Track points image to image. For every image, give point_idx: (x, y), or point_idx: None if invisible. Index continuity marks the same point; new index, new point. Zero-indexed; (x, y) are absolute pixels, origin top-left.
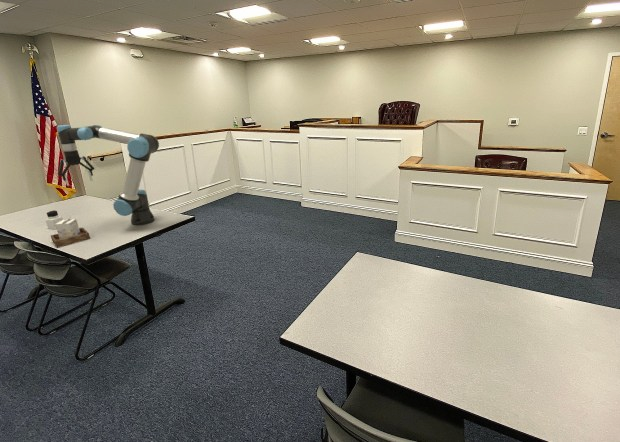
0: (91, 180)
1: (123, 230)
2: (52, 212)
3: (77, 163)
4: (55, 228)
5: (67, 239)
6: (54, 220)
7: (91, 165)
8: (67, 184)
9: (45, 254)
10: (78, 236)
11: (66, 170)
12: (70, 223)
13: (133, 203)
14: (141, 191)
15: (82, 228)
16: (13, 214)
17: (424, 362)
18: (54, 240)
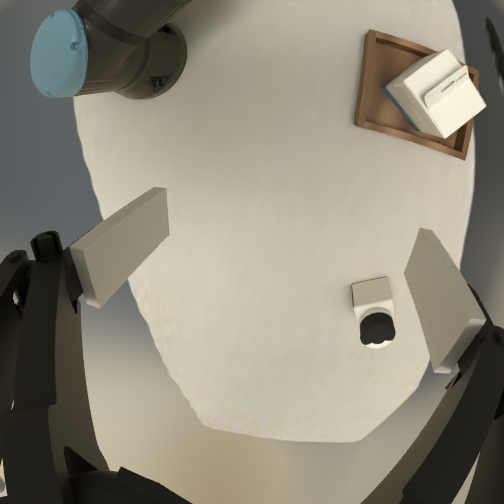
0: (160, 190)
1: (239, 13)
2: (383, 326)
3: (106, 499)
4: (386, 278)
5: None
6: (385, 298)
7: None
8: (436, 241)
9: (498, 57)
10: (407, 42)
11: (471, 404)
12: (438, 53)
13: None
14: (46, 18)
15: (364, 112)
16: (346, 440)
17: None
18: (477, 85)
